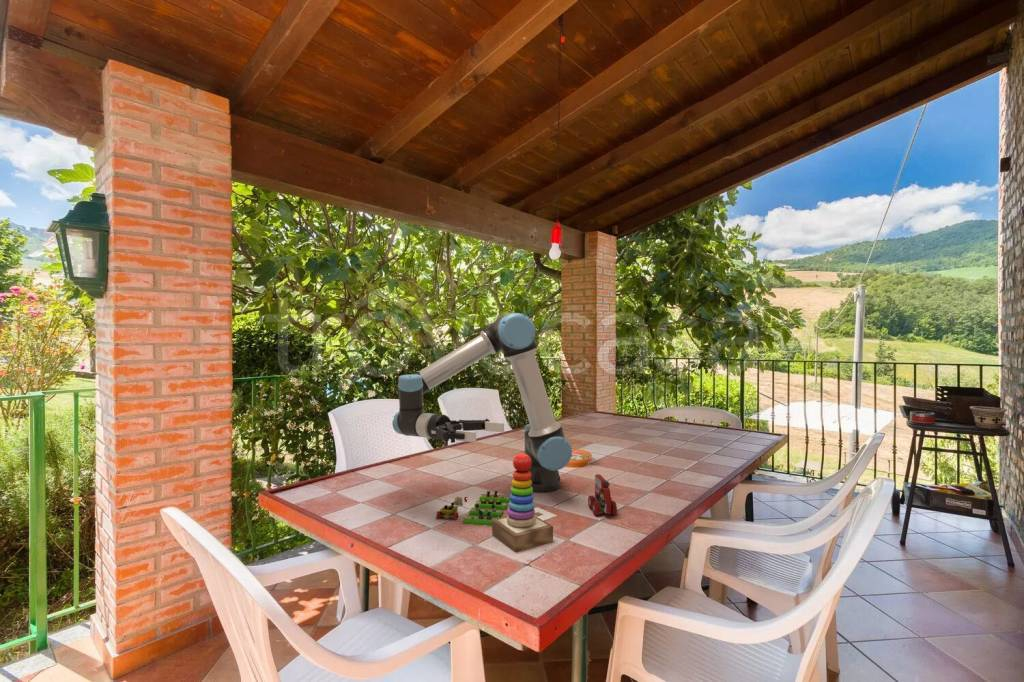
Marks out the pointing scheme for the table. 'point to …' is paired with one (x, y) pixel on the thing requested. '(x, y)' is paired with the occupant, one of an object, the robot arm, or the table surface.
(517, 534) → the pedestal
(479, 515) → the toy garden set
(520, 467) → the stacking toy
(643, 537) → the table surface
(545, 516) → the page
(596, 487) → the toy fire truck
